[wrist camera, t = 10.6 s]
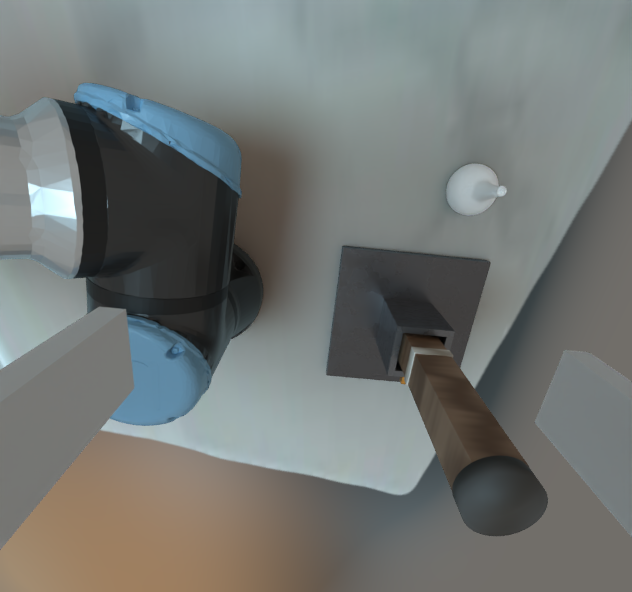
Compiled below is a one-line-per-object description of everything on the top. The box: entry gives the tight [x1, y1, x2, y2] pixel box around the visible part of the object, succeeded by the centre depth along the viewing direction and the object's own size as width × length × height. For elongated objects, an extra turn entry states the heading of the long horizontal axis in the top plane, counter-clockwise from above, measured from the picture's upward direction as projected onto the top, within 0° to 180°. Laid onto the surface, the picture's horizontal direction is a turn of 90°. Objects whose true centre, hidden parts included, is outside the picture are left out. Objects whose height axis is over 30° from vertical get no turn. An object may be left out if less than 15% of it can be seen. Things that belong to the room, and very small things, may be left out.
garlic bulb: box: [446, 164, 507, 216], centre depth 40 cm, size 6×6×8 cm
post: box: [398, 333, 548, 536], centre depth 32 cm, size 6×6×22 cm
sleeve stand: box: [326, 246, 490, 384], centre depth 45 cm, size 20×20×10 cm
